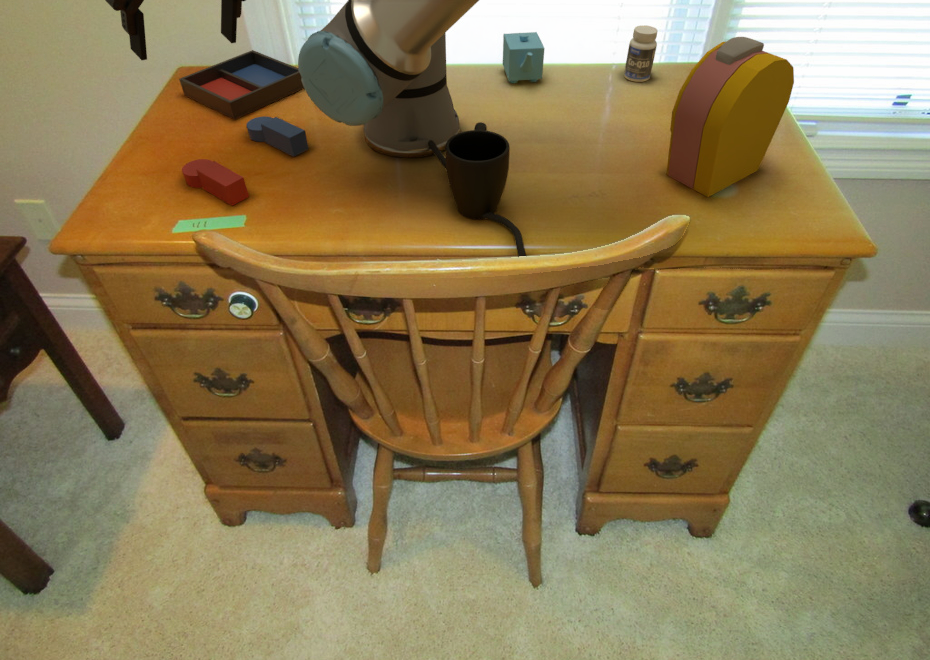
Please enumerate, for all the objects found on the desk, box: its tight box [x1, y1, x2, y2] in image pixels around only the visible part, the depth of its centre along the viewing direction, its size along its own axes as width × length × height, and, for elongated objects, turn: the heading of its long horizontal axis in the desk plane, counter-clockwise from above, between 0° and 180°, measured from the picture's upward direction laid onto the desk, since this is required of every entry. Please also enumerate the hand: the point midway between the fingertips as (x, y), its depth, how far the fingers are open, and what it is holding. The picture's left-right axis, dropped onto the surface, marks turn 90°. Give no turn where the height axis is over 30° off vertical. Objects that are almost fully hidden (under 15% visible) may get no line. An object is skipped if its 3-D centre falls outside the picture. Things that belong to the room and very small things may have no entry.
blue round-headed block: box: [246, 115, 310, 158], centre depth 99 cm, size 12×5×3 cm, turn 51°
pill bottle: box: [623, 24, 658, 83], centre depth 112 cm, size 5×5×8 cm
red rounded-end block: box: [181, 158, 250, 207], centre depth 90 cm, size 12×5×3 cm, turn 51°
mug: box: [444, 121, 511, 221], centre depth 85 cm, size 8×12×10 cm
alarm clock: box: [665, 36, 795, 198], centre depth 86 cm, size 15×8×18 cm, turn 127°
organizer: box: [178, 49, 304, 120], centre depth 112 cm, size 15×16×3 cm
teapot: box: [502, 31, 545, 84], centre depth 113 cm, size 12×6×8 cm, turn 6°
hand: (185, 45), depth 89 cm, fingers open, 13 cm apart
